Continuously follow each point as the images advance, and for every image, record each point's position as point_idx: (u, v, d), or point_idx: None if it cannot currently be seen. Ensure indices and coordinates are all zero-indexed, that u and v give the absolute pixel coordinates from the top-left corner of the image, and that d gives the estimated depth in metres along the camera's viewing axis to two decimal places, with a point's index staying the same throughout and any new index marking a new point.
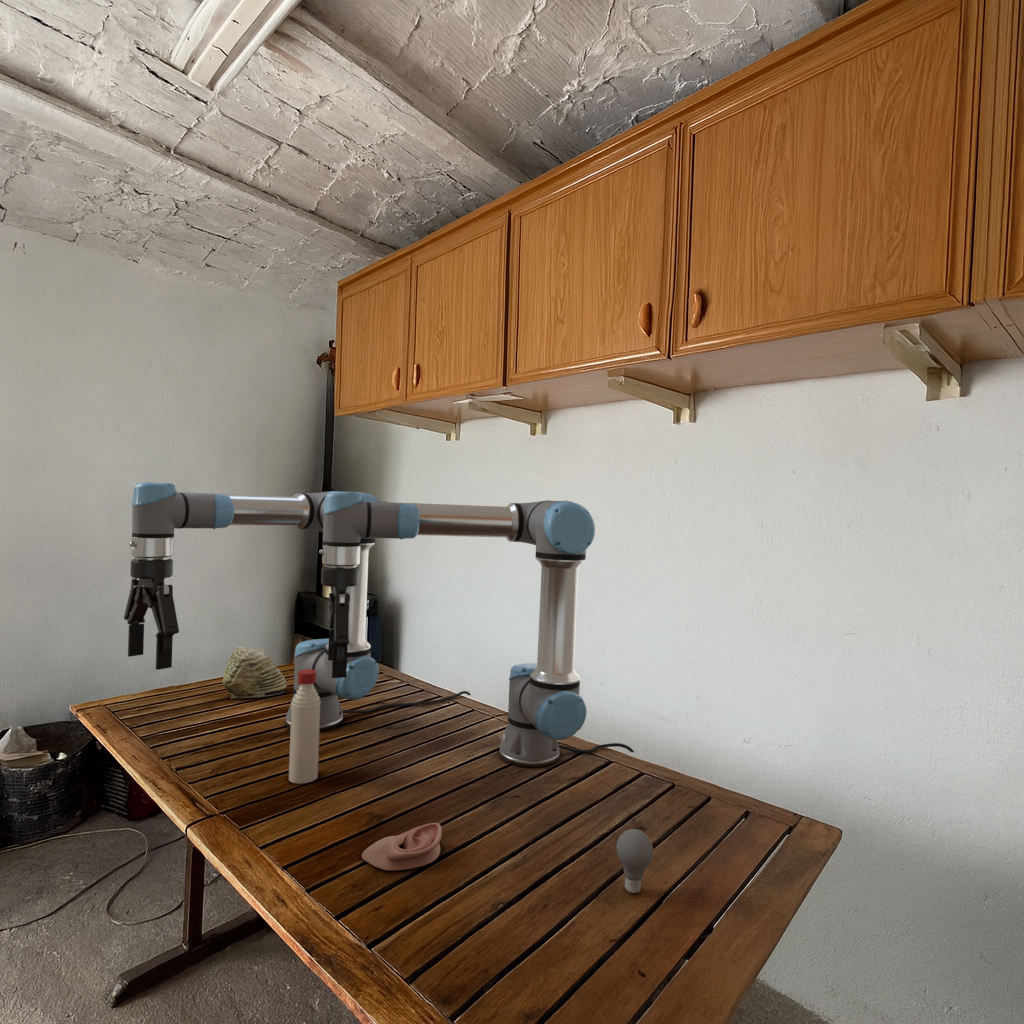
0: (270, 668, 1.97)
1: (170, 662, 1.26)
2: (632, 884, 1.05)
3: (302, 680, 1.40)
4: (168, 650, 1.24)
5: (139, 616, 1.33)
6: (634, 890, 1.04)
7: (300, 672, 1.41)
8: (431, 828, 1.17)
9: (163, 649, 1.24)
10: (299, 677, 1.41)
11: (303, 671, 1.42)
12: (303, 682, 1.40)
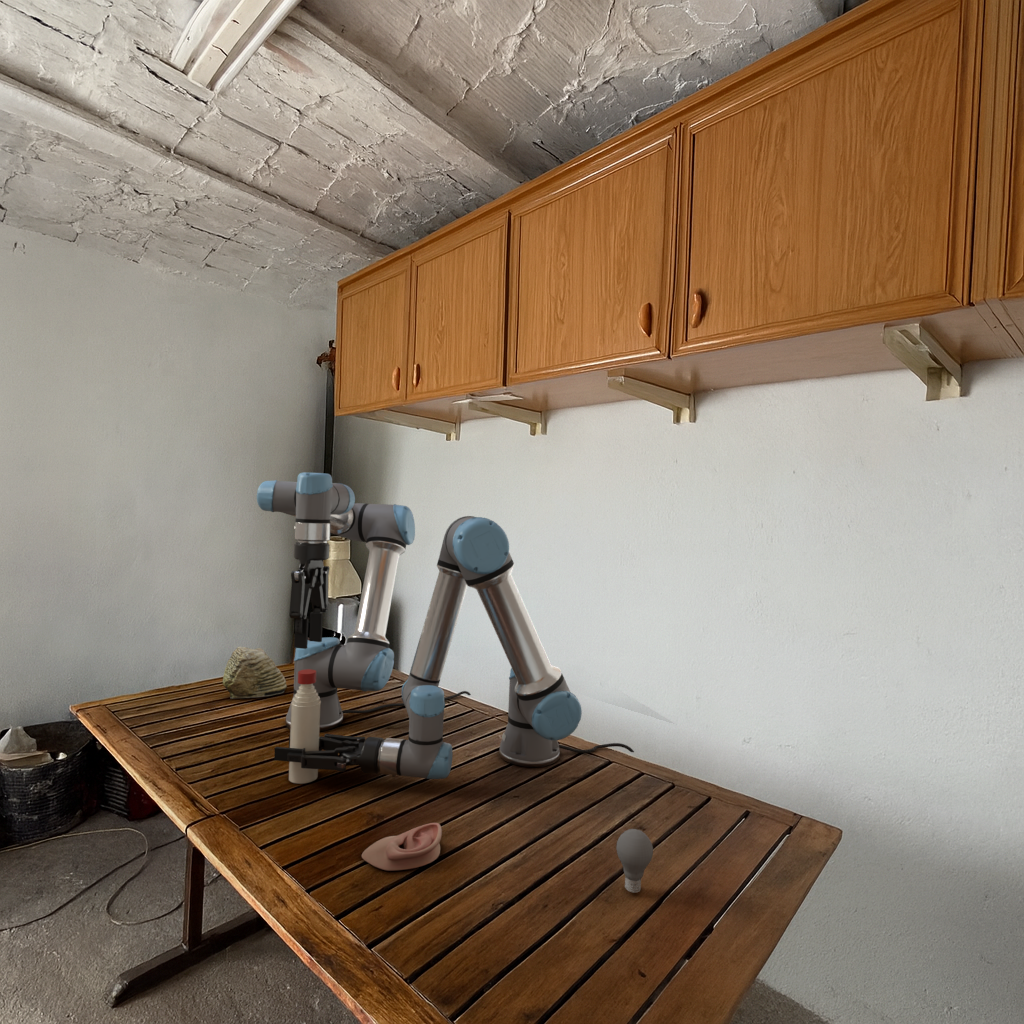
0: (270, 668, 1.97)
1: (304, 644, 1.38)
2: (632, 884, 1.05)
3: (302, 680, 1.40)
4: (298, 632, 1.37)
5: (317, 602, 1.45)
6: (634, 890, 1.04)
7: (300, 672, 1.41)
8: (431, 828, 1.17)
9: None
10: (299, 677, 1.41)
11: (303, 671, 1.42)
12: (303, 682, 1.40)
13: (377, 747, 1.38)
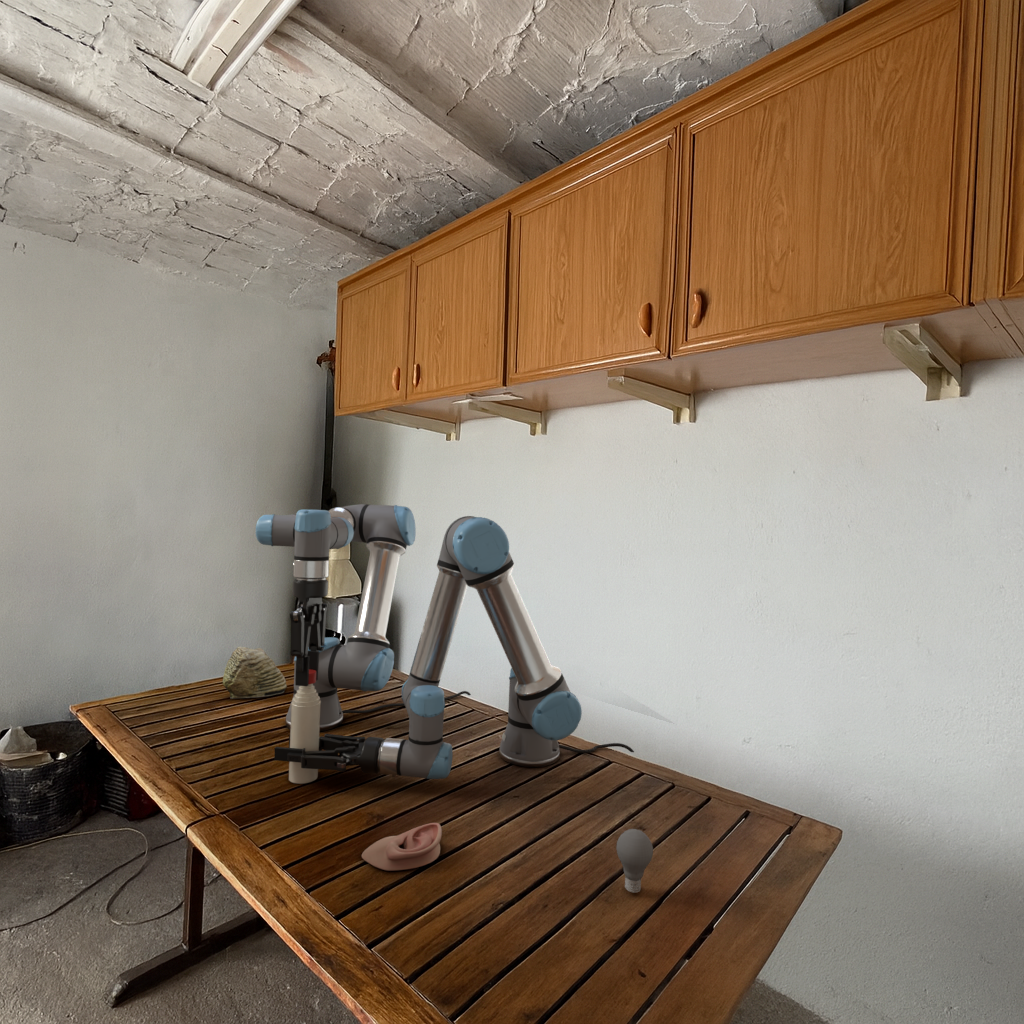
0: (270, 668, 1.97)
1: (305, 681, 1.39)
2: (632, 884, 1.05)
3: None
4: (299, 670, 1.38)
5: (313, 640, 1.44)
6: (634, 890, 1.04)
7: None
8: (431, 828, 1.17)
9: None
10: None
11: None
12: None
13: (377, 747, 1.38)
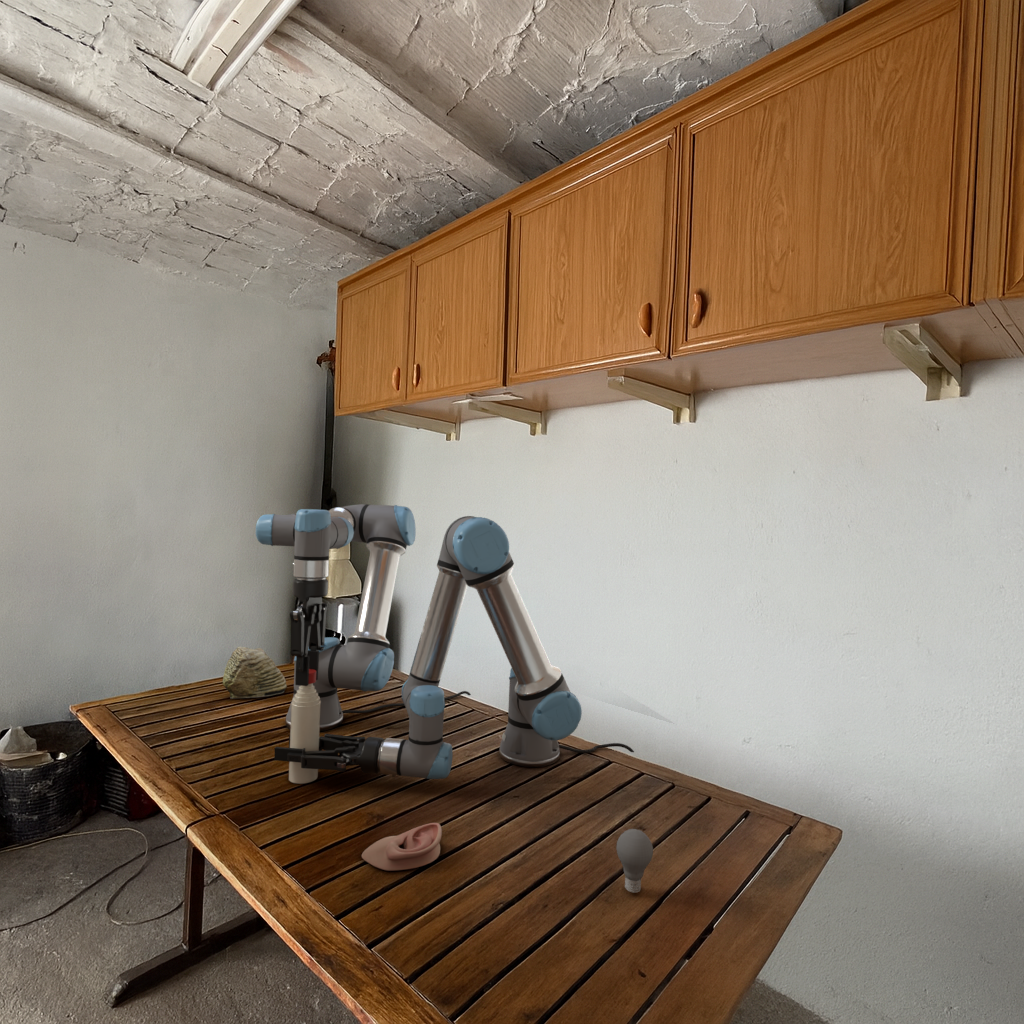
0: (270, 668, 1.97)
1: (305, 681, 1.39)
2: (632, 884, 1.05)
3: (315, 678, 1.42)
4: (299, 669, 1.38)
5: (313, 640, 1.44)
6: (634, 890, 1.04)
7: (309, 672, 1.41)
8: (431, 828, 1.17)
9: None
10: (312, 677, 1.41)
11: None
12: (315, 680, 1.42)
13: (377, 747, 1.38)
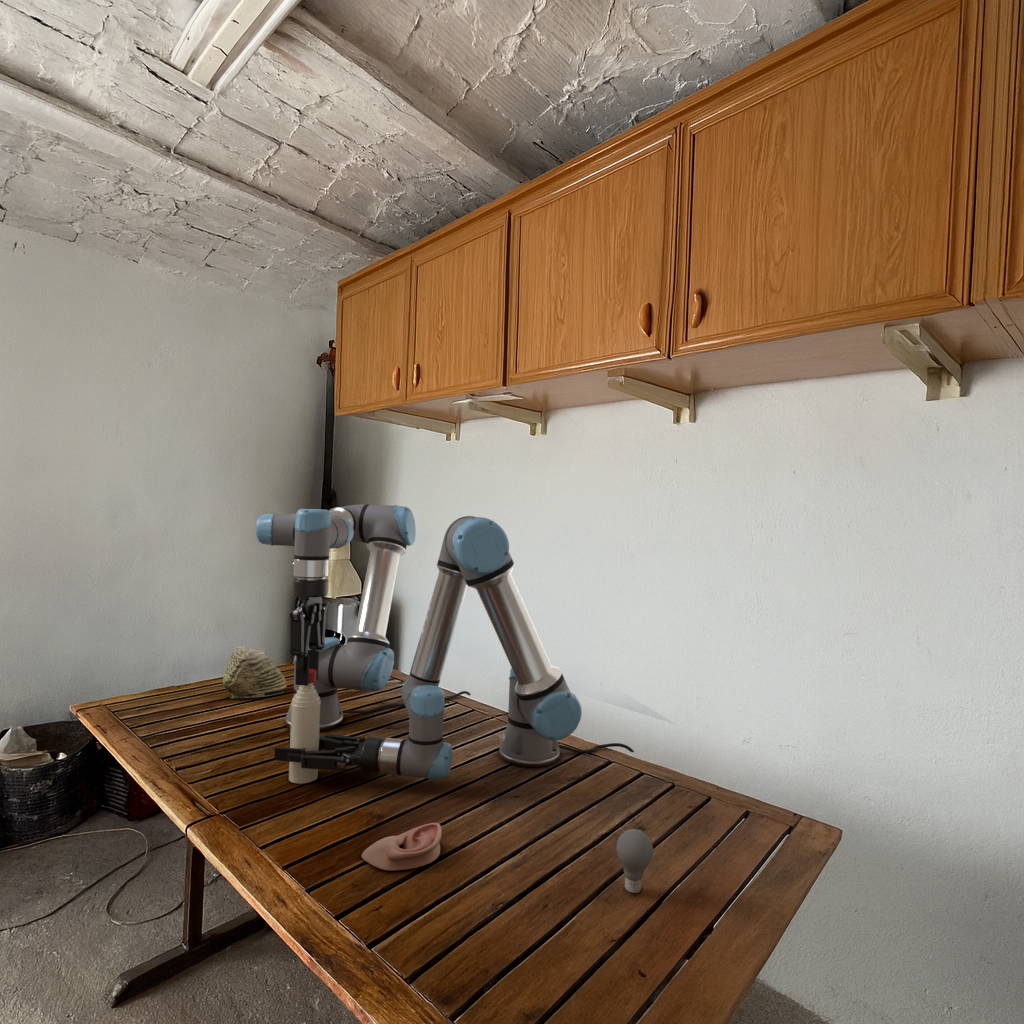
0: (270, 668, 1.97)
1: (305, 681, 1.39)
2: (632, 884, 1.05)
3: None
4: (299, 669, 1.38)
5: (313, 639, 1.44)
6: (634, 890, 1.04)
7: (313, 670, 1.43)
8: (431, 828, 1.17)
9: None
10: None
11: (311, 671, 1.42)
12: None
13: (377, 747, 1.38)
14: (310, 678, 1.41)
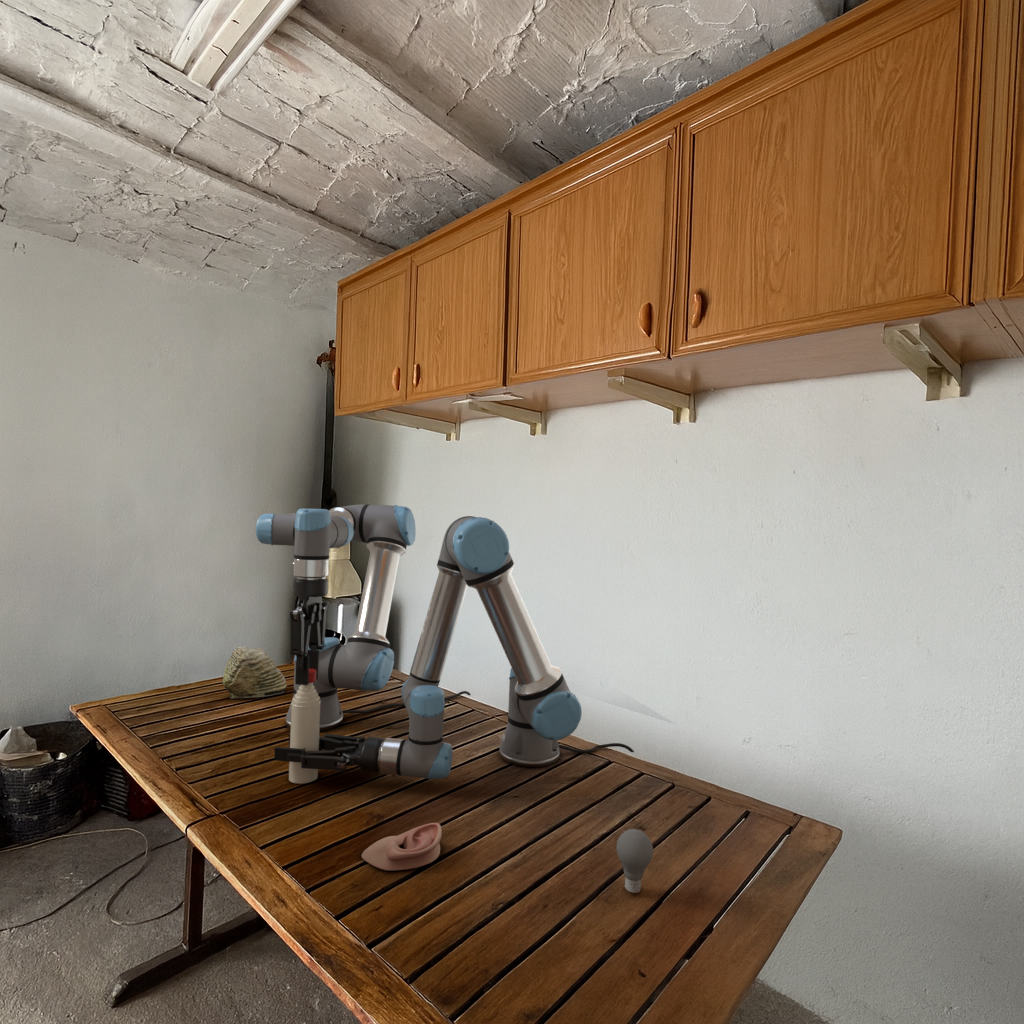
0: (270, 668, 1.97)
1: (305, 680, 1.39)
2: (632, 884, 1.05)
3: None
4: (299, 669, 1.38)
5: (314, 639, 1.44)
6: (634, 890, 1.04)
7: None
8: (431, 828, 1.17)
9: None
10: None
11: None
12: None
13: (377, 747, 1.38)
14: None
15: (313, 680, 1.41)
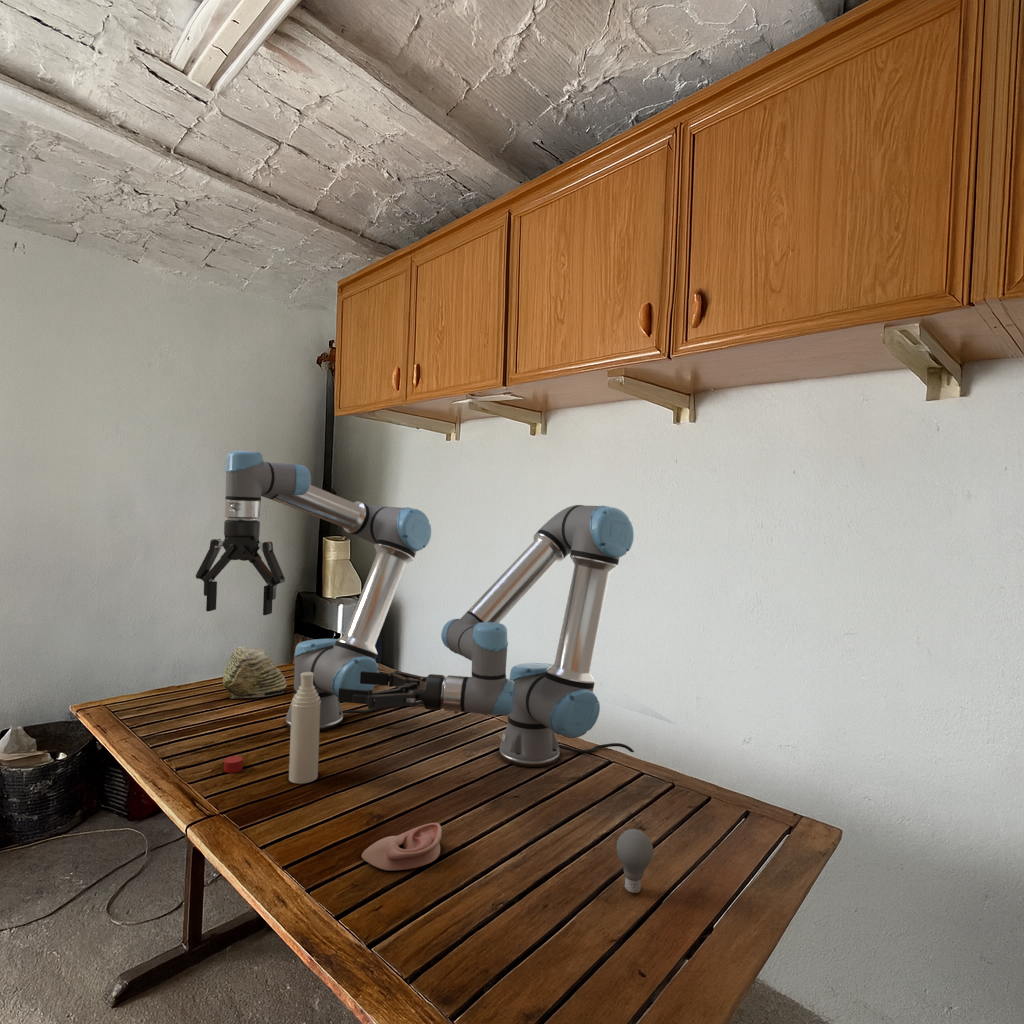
0: (270, 668, 1.97)
1: (271, 608, 1.45)
2: (632, 884, 1.05)
3: (242, 765, 1.45)
4: (274, 597, 1.44)
5: (216, 574, 1.45)
6: (634, 890, 1.04)
7: (236, 761, 1.44)
8: (431, 828, 1.17)
9: (271, 597, 1.43)
10: (239, 765, 1.44)
11: (232, 760, 1.44)
12: (242, 767, 1.45)
13: (440, 683, 1.37)
14: (224, 766, 1.44)
15: None
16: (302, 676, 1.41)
